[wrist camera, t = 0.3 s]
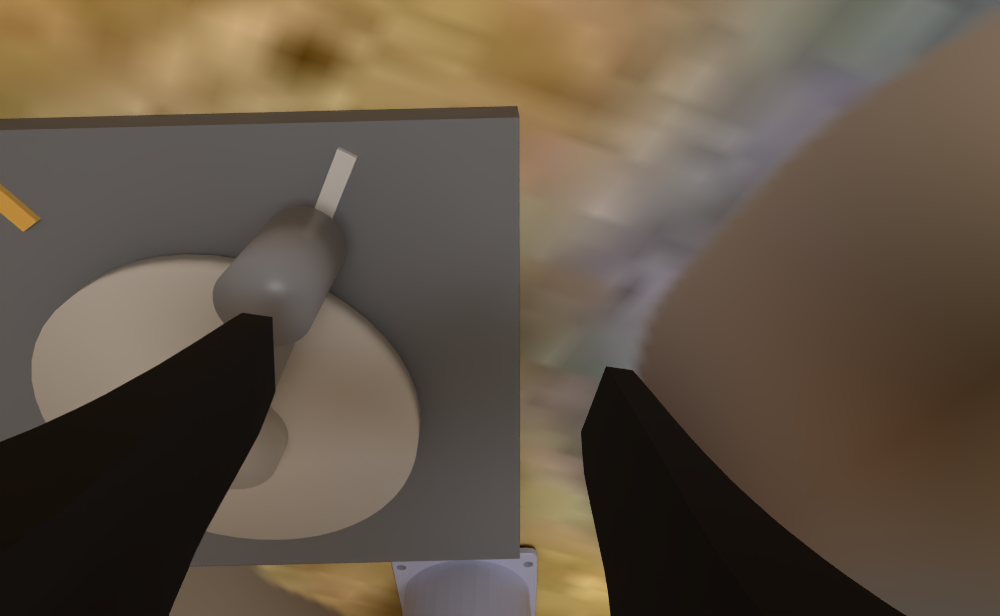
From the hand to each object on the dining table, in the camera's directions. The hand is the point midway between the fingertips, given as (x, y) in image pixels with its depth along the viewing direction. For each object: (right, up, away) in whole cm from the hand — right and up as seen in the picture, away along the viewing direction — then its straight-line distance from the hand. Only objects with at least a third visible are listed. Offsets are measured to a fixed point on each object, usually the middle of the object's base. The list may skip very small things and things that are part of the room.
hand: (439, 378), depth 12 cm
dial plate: (-9, -2, +11) cm, 14 cm away
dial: (-8, -1, +9) cm, 12 cm away
